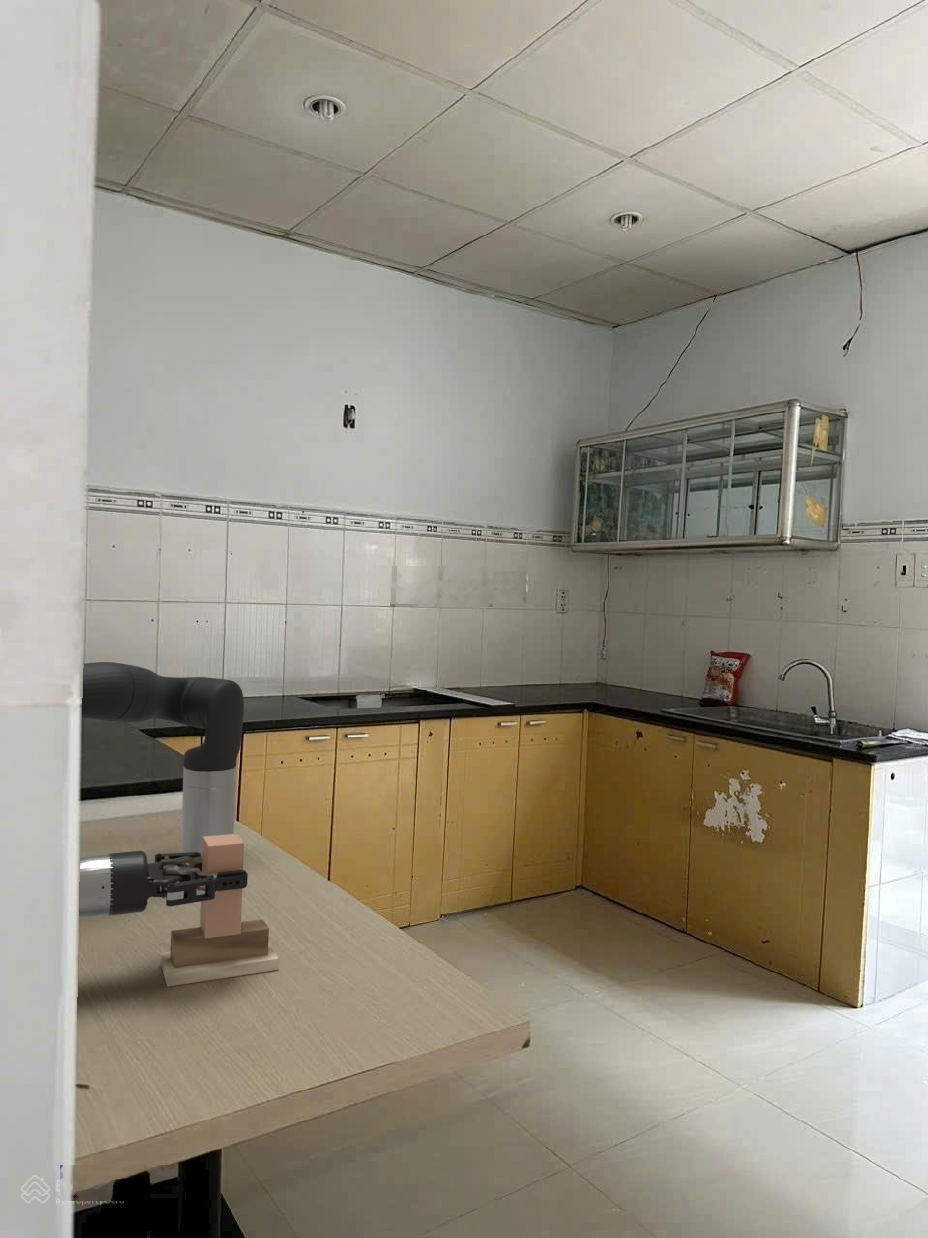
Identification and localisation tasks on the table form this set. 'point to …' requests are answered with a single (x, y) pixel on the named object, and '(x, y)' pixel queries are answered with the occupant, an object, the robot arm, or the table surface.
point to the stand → (218, 954)
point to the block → (227, 905)
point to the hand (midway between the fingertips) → (241, 871)
